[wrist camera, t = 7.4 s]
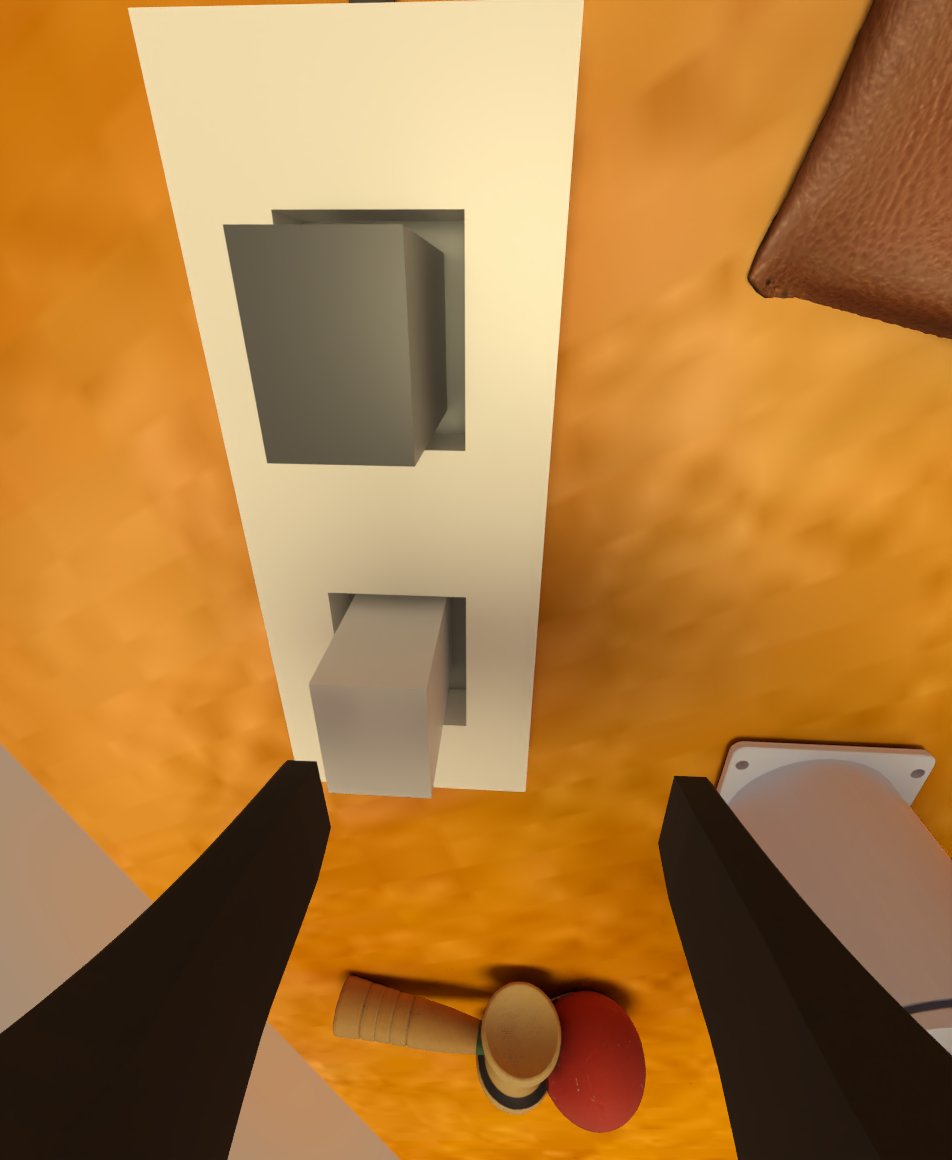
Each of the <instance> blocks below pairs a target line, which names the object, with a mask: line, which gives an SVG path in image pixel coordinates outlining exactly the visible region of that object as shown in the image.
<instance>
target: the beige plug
mask: <svg viewBox="0 0 952 1160" xmlns="http://www.w3.org/2000/svg"><path fill="white" fill-rule="evenodd" d="M451 672H452V633H451V597H440V596H411V595H381V594H355V596H354V598H353V600H352V602H351V604H350V606H349V608H348V610H347V612H346V614H345V615H344V617H343V619H342V621H341V623H340V625H339V627H338V629H337V631H336V633H335V635H334V636H333V638H332V640H331V642H330V644H329V646H328V648H327V650H326V652H325V654H324V655H323V657H322V659H321V661H320V663H319V665H318V667H317V669H316V671H315V673H314V675H313V676H312V678H311V680H310V682H309V689H310V695H311V700H312V705H313V711H314V716H315V722H316V727H317V733H318V738H319V744H320V749H321V755H322V760H323V766H324V771H325V777H326V782H327V788H328V793H343V794H362V795H380V796H398V797H416V798H432V792H433V786H434V780H435V773H436V767H437V761H438V754H439V748H440V742H441V735H442V729H443V722H444V716H445V710H446V703H447V697H448V691H449V684H450V678H451Z"/></svg>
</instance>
